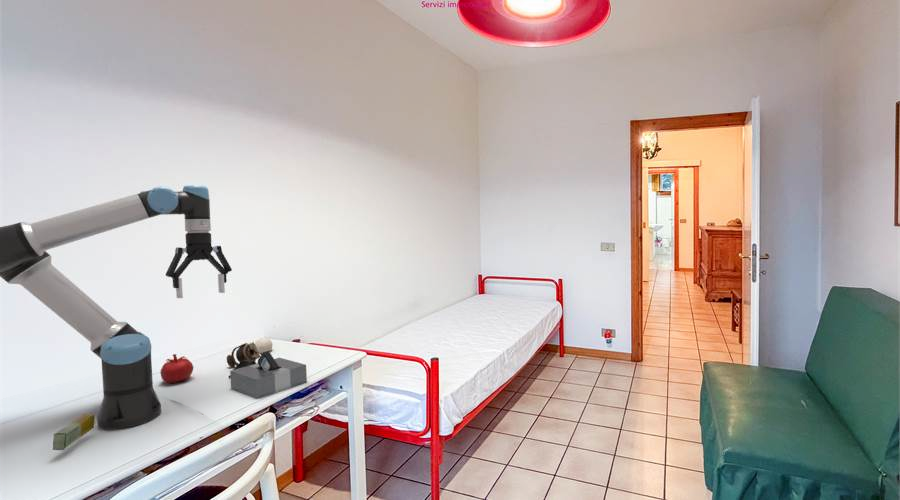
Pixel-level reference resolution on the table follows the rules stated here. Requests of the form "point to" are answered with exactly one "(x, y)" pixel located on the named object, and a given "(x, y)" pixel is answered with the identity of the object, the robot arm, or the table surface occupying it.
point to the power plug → (245, 364)
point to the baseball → (263, 345)
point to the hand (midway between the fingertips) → (201, 295)
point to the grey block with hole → (268, 378)
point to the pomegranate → (176, 369)
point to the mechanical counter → (243, 354)
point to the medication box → (73, 431)
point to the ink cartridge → (267, 362)
